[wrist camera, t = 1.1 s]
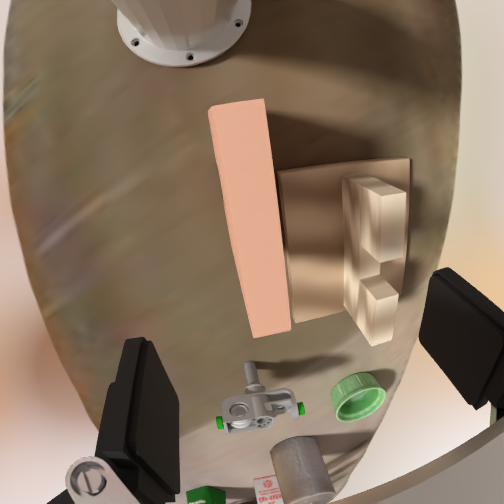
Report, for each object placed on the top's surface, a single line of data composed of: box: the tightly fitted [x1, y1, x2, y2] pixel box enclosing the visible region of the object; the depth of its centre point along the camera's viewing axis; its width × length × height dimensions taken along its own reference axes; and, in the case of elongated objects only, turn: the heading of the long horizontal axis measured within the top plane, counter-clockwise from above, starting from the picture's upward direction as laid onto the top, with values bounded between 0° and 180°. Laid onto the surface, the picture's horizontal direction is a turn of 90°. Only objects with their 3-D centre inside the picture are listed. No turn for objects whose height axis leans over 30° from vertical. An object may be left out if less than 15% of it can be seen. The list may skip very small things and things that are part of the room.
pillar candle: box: [270, 436, 337, 504], centre depth 47 cm, size 10×10×15 cm
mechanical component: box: [216, 361, 305, 434], centre depth 37 cm, size 3×10×10 cm, turn 95°
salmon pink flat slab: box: [208, 99, 291, 338], centre depth 23 cm, size 14×2×15 cm, turn 8°
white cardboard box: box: [253, 475, 284, 504], centre depth 55 cm, size 4×7×10 cm, turn 98°
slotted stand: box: [277, 156, 410, 346], centre depth 31 cm, size 18×15×10 cm
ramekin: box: [331, 373, 386, 422], centre depth 46 cm, size 9×9×4 cm
